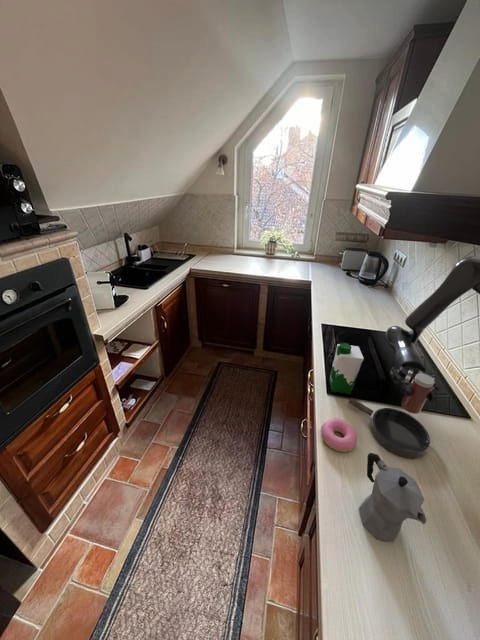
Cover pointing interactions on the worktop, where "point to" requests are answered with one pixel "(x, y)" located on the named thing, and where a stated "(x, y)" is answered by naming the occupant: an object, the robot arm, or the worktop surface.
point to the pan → (399, 433)
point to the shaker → (418, 393)
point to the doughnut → (337, 442)
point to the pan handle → (360, 406)
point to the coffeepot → (390, 501)
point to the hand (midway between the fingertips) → (421, 397)
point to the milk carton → (345, 368)
